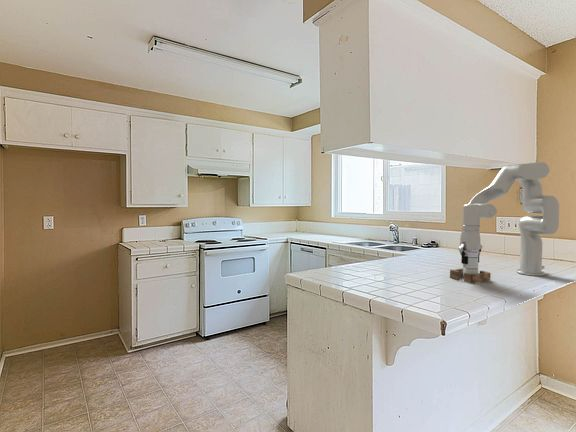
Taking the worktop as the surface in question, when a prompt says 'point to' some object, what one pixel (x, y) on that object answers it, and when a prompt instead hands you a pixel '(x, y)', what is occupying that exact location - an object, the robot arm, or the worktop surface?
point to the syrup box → (471, 263)
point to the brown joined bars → (470, 276)
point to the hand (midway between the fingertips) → (470, 262)
